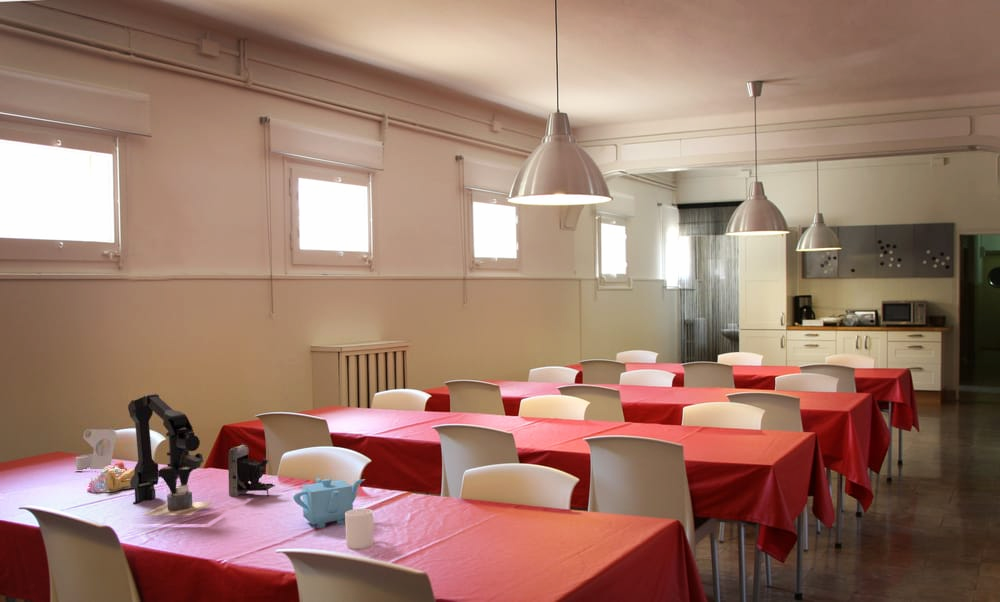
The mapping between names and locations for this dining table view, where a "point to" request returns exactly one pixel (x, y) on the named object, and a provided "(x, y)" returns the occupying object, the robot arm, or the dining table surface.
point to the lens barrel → (179, 501)
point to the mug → (359, 528)
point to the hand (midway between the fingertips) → (179, 491)
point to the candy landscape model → (112, 479)
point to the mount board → (164, 510)
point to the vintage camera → (245, 472)
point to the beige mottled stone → (181, 490)
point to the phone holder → (97, 449)
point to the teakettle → (327, 500)
